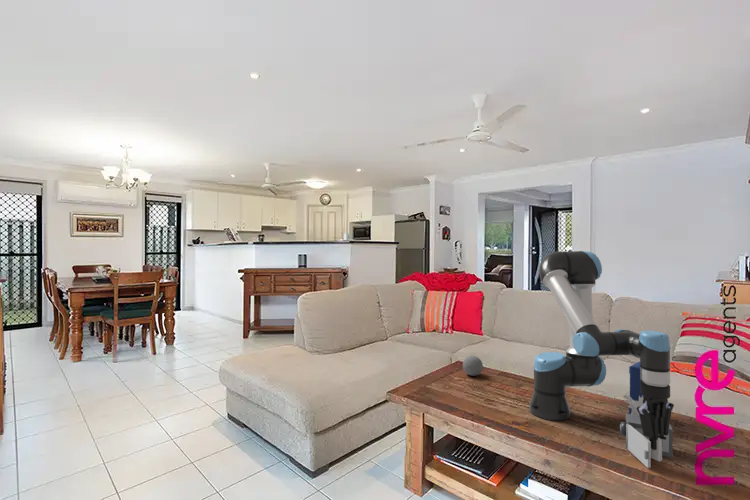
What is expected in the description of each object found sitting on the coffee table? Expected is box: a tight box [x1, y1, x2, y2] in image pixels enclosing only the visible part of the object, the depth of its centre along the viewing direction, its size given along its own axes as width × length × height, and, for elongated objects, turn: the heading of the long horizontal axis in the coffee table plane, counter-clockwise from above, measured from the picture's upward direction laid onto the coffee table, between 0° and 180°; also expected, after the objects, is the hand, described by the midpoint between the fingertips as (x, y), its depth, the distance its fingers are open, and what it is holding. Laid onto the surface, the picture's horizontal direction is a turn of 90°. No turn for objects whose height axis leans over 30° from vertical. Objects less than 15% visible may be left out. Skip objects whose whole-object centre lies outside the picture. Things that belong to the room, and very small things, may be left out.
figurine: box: [623, 394, 643, 416], centre depth 148 cm, size 11×8×12 cm
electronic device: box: [628, 361, 644, 414], centre depth 156 cm, size 10×5×20 cm, turn 127°
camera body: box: [619, 413, 674, 458], centre depth 132 cm, size 14×7×10 cm, turn 63°
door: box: [625, 424, 652, 469], centre depth 125 cm, size 12×2×8 cm, turn 176°
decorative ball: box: [462, 355, 484, 377], centre depth 203 cm, size 10×10×10 cm
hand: (656, 458), depth 122 cm, fingers closed
